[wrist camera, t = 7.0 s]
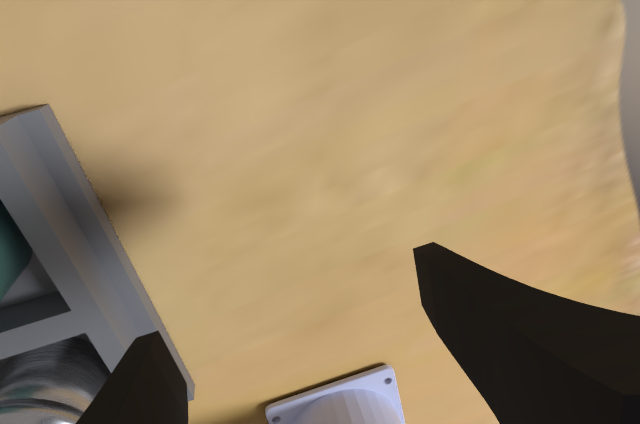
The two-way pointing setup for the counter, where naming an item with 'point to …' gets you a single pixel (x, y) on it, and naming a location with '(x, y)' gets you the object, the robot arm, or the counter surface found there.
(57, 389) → the housing
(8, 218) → the teal cylinder
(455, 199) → the counter surface
